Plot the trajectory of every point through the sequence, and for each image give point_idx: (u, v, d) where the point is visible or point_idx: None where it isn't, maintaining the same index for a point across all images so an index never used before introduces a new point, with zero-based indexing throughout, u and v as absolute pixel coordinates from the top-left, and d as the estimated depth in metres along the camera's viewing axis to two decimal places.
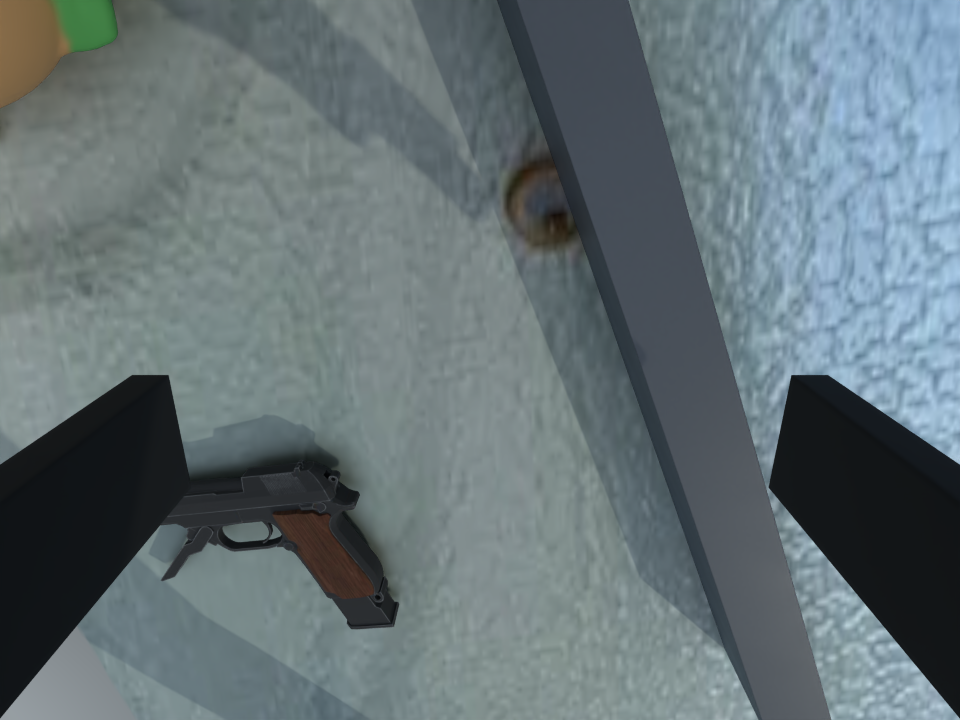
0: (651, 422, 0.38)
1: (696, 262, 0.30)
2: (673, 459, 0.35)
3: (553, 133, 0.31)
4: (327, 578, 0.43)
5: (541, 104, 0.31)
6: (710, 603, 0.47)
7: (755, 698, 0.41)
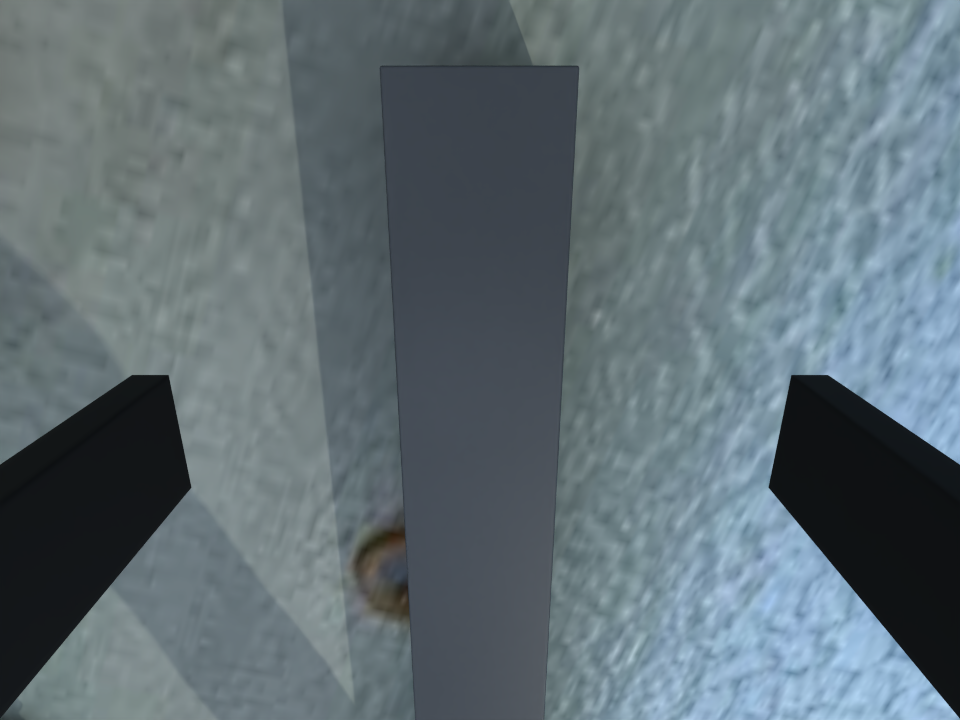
0: None
1: None
2: None
3: None
4: None
5: None
6: None
7: None
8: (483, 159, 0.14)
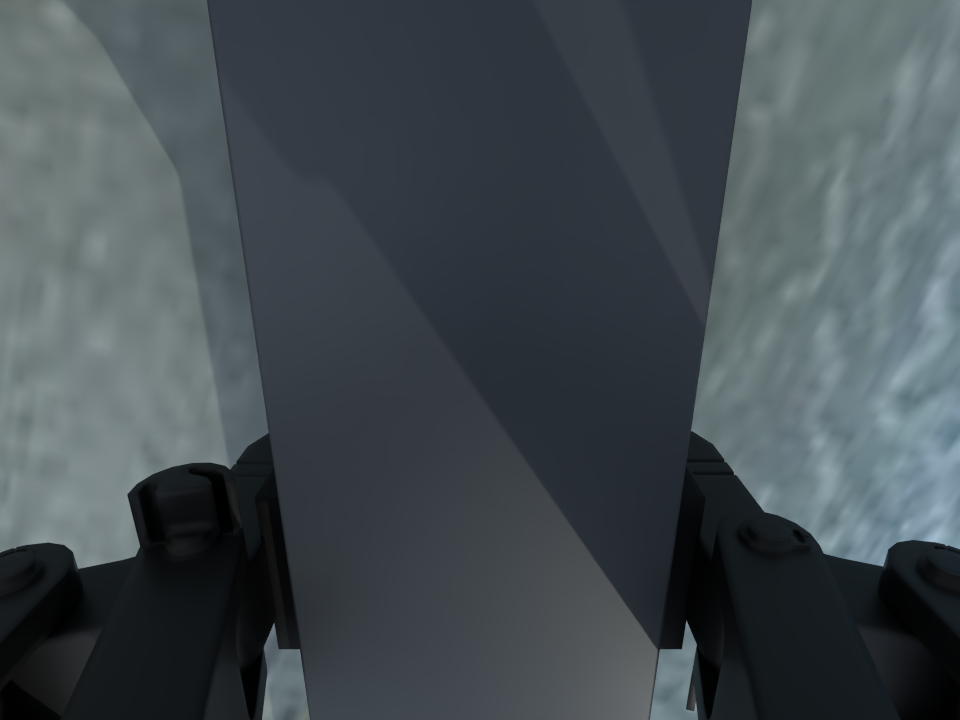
0: None
1: None
2: None
3: None
4: None
5: None
6: None
7: None
8: (488, 191, 0.05)
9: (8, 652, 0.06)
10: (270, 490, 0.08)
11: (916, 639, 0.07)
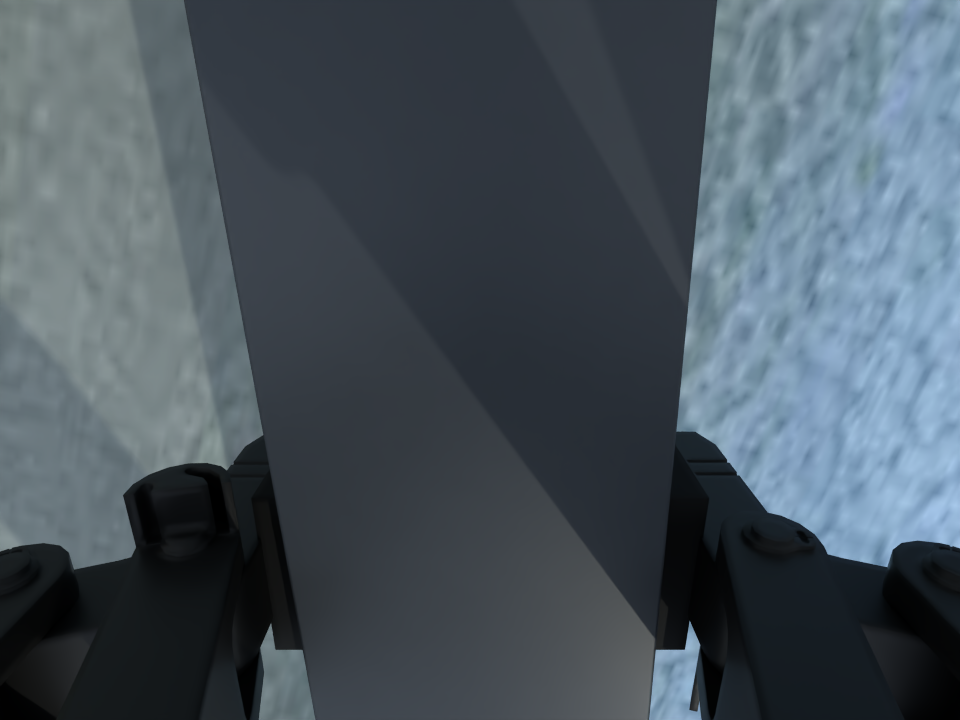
0: None
1: None
2: None
3: None
4: None
5: None
6: None
7: None
8: (468, 186, 0.06)
9: (3, 652, 0.06)
10: (267, 491, 0.08)
11: (921, 640, 0.07)
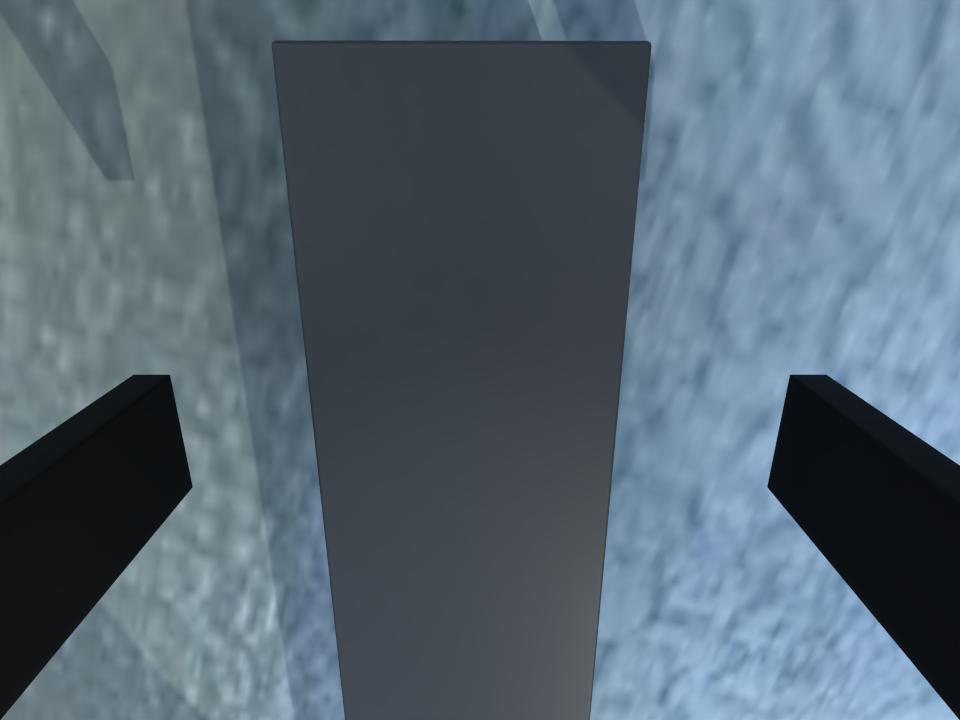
0: None
1: None
2: None
3: None
4: None
5: None
6: None
7: None
8: (469, 214, 0.08)
9: None
10: None
11: None
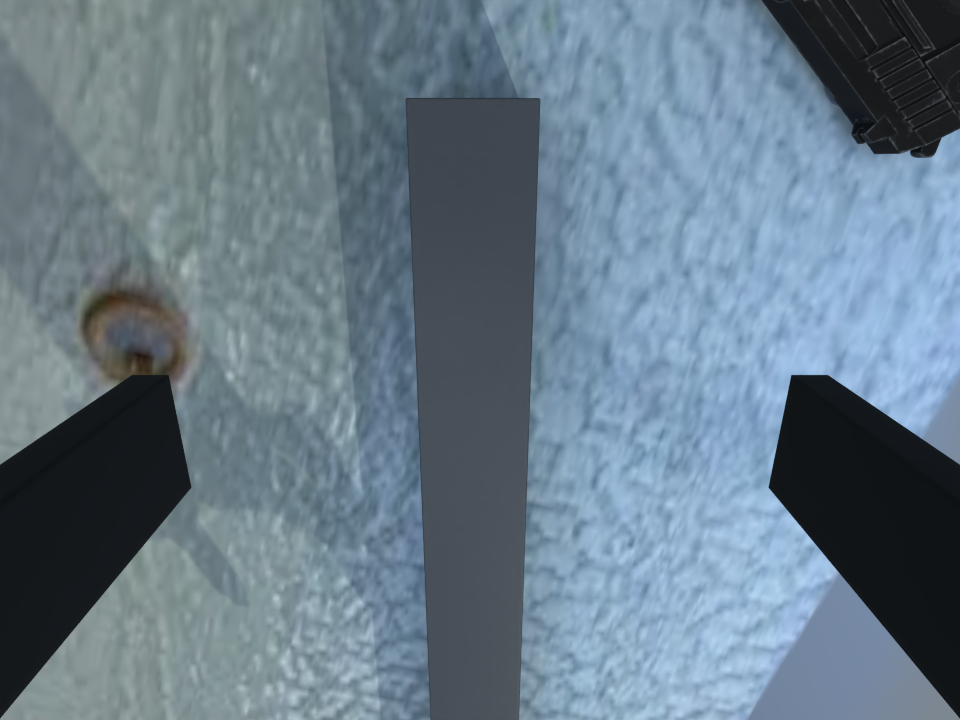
0: None
1: (514, 669, 0.29)
2: None
3: None
4: None
5: None
6: None
7: None
8: (475, 161, 0.21)
9: None
10: None
11: None
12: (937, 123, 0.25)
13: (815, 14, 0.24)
